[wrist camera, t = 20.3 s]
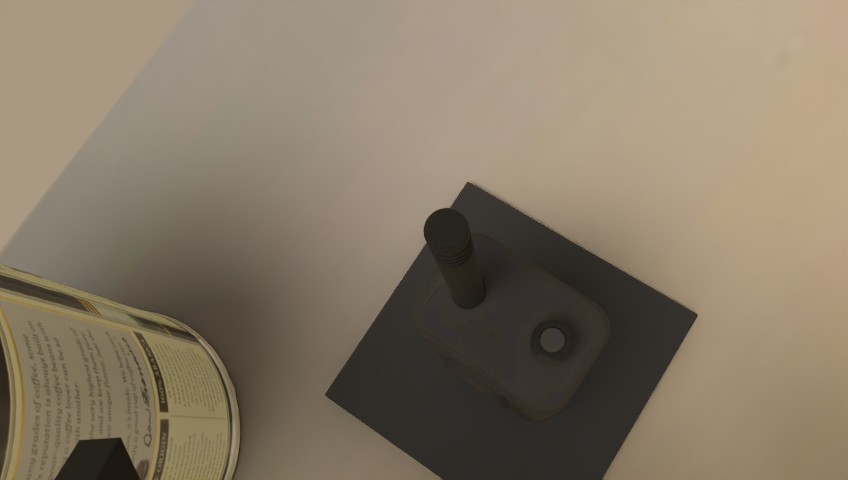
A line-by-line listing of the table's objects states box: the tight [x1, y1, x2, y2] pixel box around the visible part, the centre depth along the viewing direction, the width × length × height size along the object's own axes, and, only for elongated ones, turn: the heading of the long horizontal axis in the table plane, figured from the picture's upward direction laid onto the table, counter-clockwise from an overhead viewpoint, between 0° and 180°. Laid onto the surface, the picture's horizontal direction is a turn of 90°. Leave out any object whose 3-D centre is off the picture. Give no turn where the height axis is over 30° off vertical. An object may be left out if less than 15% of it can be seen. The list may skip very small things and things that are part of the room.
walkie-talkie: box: [409, 208, 611, 422], centre depth 19 cm, size 5×3×15 cm
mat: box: [325, 182, 697, 480], centre depth 26 cm, size 10×10×1 cm
